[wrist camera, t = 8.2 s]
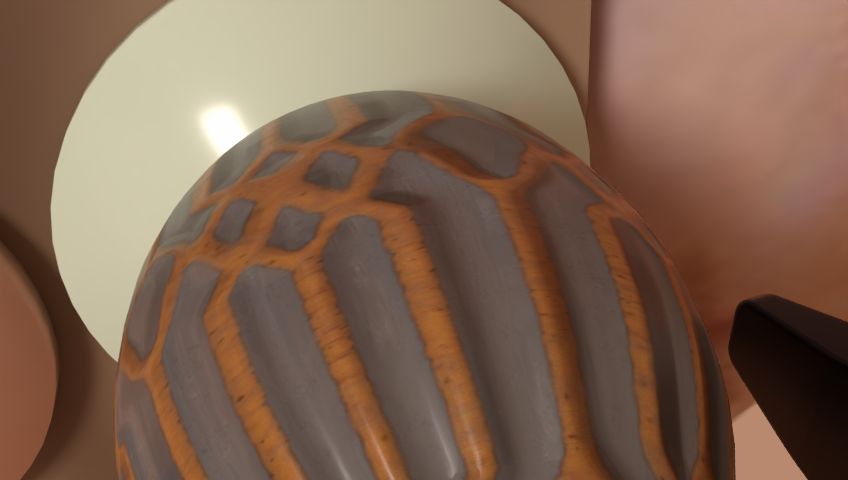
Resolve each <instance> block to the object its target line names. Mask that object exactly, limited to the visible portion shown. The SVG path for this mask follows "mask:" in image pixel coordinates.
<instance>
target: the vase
mask: <svg viewBox="0 0 848 480" xmlns="http://www.w3.org/2000/svg"><path fill="white" fill-rule="evenodd" d="M113 429H114V444H115V455H116V466H117V473H118V479H119V480H735V443H734V436H733V428H732V420H731V412H730V405H729V399H728V395H727V391H726V388H725V384H724V380H723V376H722V372H721V369H720V366H719V363H718V360H717V357H716V354H715V351H714V349H713V346H712V343H711V341H710V338H709V335H708V332H707V330H706V327H705V325H704V323H703V320H702V318H701V316H700V314H699V312H698V310H697V307H696V305H695V303H694V301H693V299H692V297H691V295H690V293H689V291H688V289H687V287H686V286H685V284H684V282H683V280H682V278H681V276H680V275H679V273H678V271H677V269H676V267H675V266H674V264H673V262H672V260H671V258H670V257H669V255H668V253H667V252H666V251H665V249H664V248H663V246H662V245H661V243H660V242H659V241H658V239H657V238H656V236H655V235H654V234H653V232H652V231H651V230H650V228H649V227H648V225H647V224H646V223H645V221H644V220H643V219H642V217H641V216H640V215H639V214H638V213H637V212H636V211H635V210H634V209H633V208H632V207H631V205H630V204H629V203H628V202H627V201H626V200H625V199H624V198H623V197H622V196H621V195H620V194H619V193H618V192H617V191H616V190H615V189H614V188H613V187H612V186H611V185H610V184H609V183H608V182H607V181H606V180H604V179H603V178H602V177H601V176H600V175H599V174H598V173H596V172H595V171H594V170H593V169H592V168H590V167H589V166H588V165H587V164H586V163H584V162H583V161H582V160H581V159H580V158H579V157H577V156H576V155H575V154H573V153H572V152H570V151H569V150H567V149H566V148H565V147H563V146H562V145H560V144H559V143H557V142H556V141H554V140H553V139H552V138H550V137H549V136H547V135H546V134H544V133H543V132H541V131H539V130H538V129H536V128H534V127H532V126H531V125H529V124H527V123H525V122H523V121H521V120H519V119H516V118H514V117H512V116H510V115H507V114H505V113H502V112H500V111H497V110H494V109H492V108H489V107H486V106H483V105H480V104H478V103H475V102H471V101H468V100H464V99H460V98H456V97H450V96H444V95H438V94H432V93H425V92H415V91H403V90H384V91H370V92H361V93H355V94H348V95H343V96H339V97H334V98H330V99H326V100H323V101H319V102H316V103H313V104H310V105H307V106H304V107H302V108H299V109H297V110H294V111H292V112H289V113H287V114H285V115H283V116H281V117H279V118H277V119H275V120H272V121H271V122H269V123H267V124H265V125H264V126H262V127H260V128H258V129H257V130H255V131H253V132H252V133H251V134H249V135H248V136H246V137H245V138H243V139H242V140H240V141H239V142H238V143H236V144H235V145H234V146H233V147H231V148H230V149H229V150H228V151H226V152H225V153H224V154H223V155H222V156H221V157H220V158H218V159H217V160H216V161H215V162H214V163H213V164H212V165H211V166H210V167H209V168H208V169H207V170H206V171H205V172H204V174H203V175H202V176H201V177H200V178H199V179H198V180H197V181H196V182H195V183H194V185H193V186H192V187H191V188H190V189H189V190H188V191H187V192H186V194H185V195H184V196H183V198H182V199H181V200H180V202H179V203H178V204H177V206H176V207H175V208H174V210H173V211H172V213H171V215H170V216H169V218H168V219H167V221H166V223H165V224H164V226H163V228H162V229H161V231H160V233H159V235H158V236H157V238H156V240H155V242H154V243H153V245H152V247H151V249H150V251H149V253H148V255H147V257H146V259H145V261H144V264H143V266H142V269H141V271H140V274H139V276H138V279H137V282H136V285H135V289H134V292H133V296H132V299H131V303H130V306H129V310H128V313H127V317H126V321H125V324H124V330H123V335H122V341H121V347H120V352H119V358H118V364H117V370H116V381H115V396H114V413H113Z"/></svg>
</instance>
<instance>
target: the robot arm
mask: <svg viewBox="0 0 848 480" xmlns="http://www.w3.org/2000/svg"><path fill="white" fill-rule="evenodd" d="M728 349H729V356H730V359H731V361H732V364H733V366H734V367H735V369H736V371H737V372H738V374H739V375H740V377H741V379H742V380H743V382H744V383H745V385H746V386H747V388H748V390H749V391H750V393H751V394H752V396H753V398H754V399H755V401H756V402H757V404H758V405H759V407H760V408H761V410H762V412H763V413H764V415H765V417H766V418H767V420H768V421H769V423H770V424H771V426H772V428H773V429H774V431H775V432H776V434H777V436H778V437H779V439H780V440H781V442H782V443H783V445H784V447H785V448H786V450H787V451H788V453H789V454H790V456H791V457H792V458H793V460H794V461H795V463H796V464H797V466H798V467H799V468H800V470H801V471H802V472H803V474H804V475H805V477H806V478H807V479H808V480H848V322H846V321H843V320H841V319H838V318H835V317H833V316H830V315H827V314H825V313H822V312H819V311H817V310H814V309H811V308H809V307H806V306H803V305H801V304H798V303H795V302H793V301H790V300H787V299H785V298H782V297H779V296H776V295H773V294H764V295H760V296H757V297H753V298H750V299H747V300H744V301H742V302H740V303H739V305H738V306H737V308H736V311H735V316H734V321H733V326H732V331H731V335H730V340H729V346H728Z"/></svg>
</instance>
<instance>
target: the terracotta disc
mask: <svg viewBox="0 0 848 480" xmlns="http://www.w3.org/2000/svg"><path fill="white" fill-rule="evenodd" d="M59 374H60V367H59V350H58V343H57V339H56V335H55V331H54V327H53V323H52V319H51V317H50V314H49V312H48V310H47V308H46V305H45V303H44V301H43V299H42V296H41V294H40V292H39V290H38V289H37V287H36V286H35V284H34V283H33V281H32V279H31V278H30V276H29V275H28V273H27V272H26V270H25V269H24V267H23V265H22V264H21V263H20V262H19V260H18V259H17V258H16V257H15V256H14V255H13V253H12V252H11V251H10V250H9V249H8V248H7V246H6V245H5V244H4V243H3V242H2V241H1V239H0V480H20V479H21V478H22V477H23V475H24V474H25V473H26V472H27V470H28V469H29V468H30V467H31V465H32V463H33V461H34V459H35V458H36V456H37V454H38V452H39V451H40V449H41V447H42V445H43V443H44V440H45V437H46V434H47V431H48V428H49V425H50V422H51V418H52V414H53V410H54V405H55V401H56V396H57V389H58V381H59Z"/></svg>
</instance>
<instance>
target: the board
mask: <svg viewBox="0 0 848 480" xmlns="http://www.w3.org/2000/svg"><path fill="white" fill-rule="evenodd" d="M165 1H166V0H0V239H1V241H2V242H3V243H4V244H5V245H6V246H7V248H8V249H9V250H10V251H11V252H12V253H13V255H14V256H15V257H16V258H17V259H18V260H19V262H20V263H21V264H22V265H23V267H24V269H25V270H26V272H27V273H28V275H29V276H30V278H31V279H32V281H33V283H34V284H35V286H36V287H37V289H38V290H39V292H40V294H41V296H42V299H43V301H44V303H45V305H46V308H47V310H48V312H49V314H50V317H51V319H52V323H53V327H54V331H55V335H56V339H57V343H58V350H59V367H60V374H59V381H58V389H57V396H56V401H55V405H54V410H53V414H52V418H51V422H50V425H49V428H48V431H47V434H46V437H45V440H44V443H43V445H42V447H41V449H40V451H39V452H38V454H37V456H36V458H35V459H34V461H33V463H32V465H31V467H30V468H29V469H28V470H27V472H26V473H25V474H24V475H23V477H22V478H21V479H20V480H119V479H118V473H117V466H116V455H115V444H114V429H113V413H114V396H115V381H116V370H117V364H118V362H117V361H115V360H114V359H113V358H112V357H111V356H110V355H109V354H108V353H107V352H106V351H105V349H104V348H103V347H102V346H101V345H100V344H99V342H98V341H97V340H96V339H95V338H94V336H93V335H92V334H91V333H90V332H89V330H88V329H87V327H86V325H85V324H84V322H83V321H82V319H81V317H80V316H79V314H78V312H77V311H76V309H75V308H74V306H73V304H72V302H71V300H70V297H69V295H68V292H67V290H66V287H65V285H64V283H63V280H62V278H61V275H60V272H59V268H58V263H57V259H56V255H55V250H54V246H53V241H52V224H51V199H52V190H53V181H54V172H55V168H56V165H57V162H58V158H59V155H60V151H61V148H62V144H63V141H64V137H65V134H66V131H67V129H68V126H69V123H70V121H71V118H72V116H73V114H74V112H75V110H76V108H77V106H78V104H79V101H80V99H81V97H82V95H83V93H84V91H85V89H86V87H87V85H88V83H89V82H90V80H91V79H92V77H93V76H94V75H95V73H96V72H97V70H98V69H99V67H100V66H101V64H102V63H103V61H104V60H105V59H106V57H107V56H108V54H109V53H110V52H111V51H112V50H113V48H114V47H115V46H116V45H117V44H118V43H119V42H120V41H121V40H122V39H123V38H124V37H125V36H126V35H127V34H128V33H129V32H130V30H131V29H132V28H133V27H134V26H135V25H136V24H137V23H138V22H139V21H141V20H142V19H143V18H145V17H146V16H147V15H148V14H150V13H151V12H152V11H153V10H155V9H156V8H157V7H159V6H160V5H161V4H162V3H164V2H165ZM499 1H500V2H502V3H503V4H505V5H506V6H507V7H509V8H510V9H511V10H513V11H514V12H515V13H517V14H518V15H519V16H520V17H521V18H522V19H523V20H524V21H525V22H526V23H527V24H528V25H529V26H530V27H531V28H532V29H533V30H534V31H535V32H536V33H537V34H538V35H539V36H540V37H541V38H542V39H543V40H544V41H545V43H546V44H547V46H548V47H549V48H550V50H551V51H552V53H553V54H554V55H555V57H556V58H557V59H558V61H559V62H560V64H561V65H562V67H563V69H564V71H565V73H566V75H567V77H568V79H569V81H570V83H571V85H572V87H573V89H574V90H575V92H576V95H577V98H578V101H579V104H580V107H581V110H582V114H583V117H584V120H585V124H586V130H587V103H588V76H589V49H590V22H591V0H499Z"/></svg>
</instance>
